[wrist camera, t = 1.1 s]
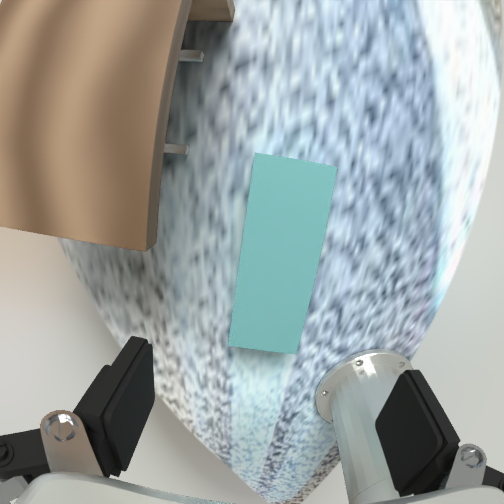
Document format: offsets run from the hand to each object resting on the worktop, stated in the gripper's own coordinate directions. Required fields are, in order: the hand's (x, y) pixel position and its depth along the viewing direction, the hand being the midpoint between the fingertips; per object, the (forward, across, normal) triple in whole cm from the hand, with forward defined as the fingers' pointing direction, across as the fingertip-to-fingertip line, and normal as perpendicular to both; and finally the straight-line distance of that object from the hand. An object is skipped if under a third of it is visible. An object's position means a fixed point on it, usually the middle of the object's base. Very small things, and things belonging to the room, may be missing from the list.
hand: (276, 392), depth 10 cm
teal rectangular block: (+19, -1, 0) cm, 19 cm away
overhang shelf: (+19, +14, -12) cm, 26 cm away
